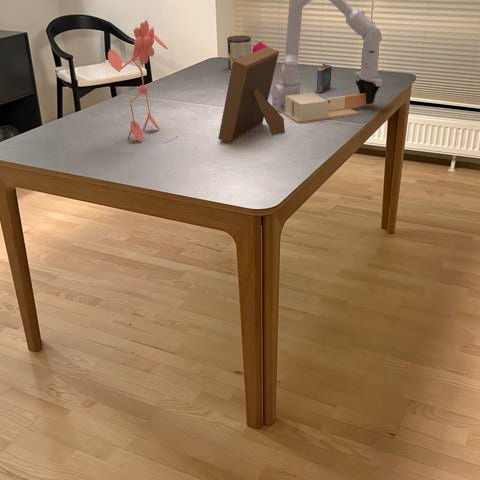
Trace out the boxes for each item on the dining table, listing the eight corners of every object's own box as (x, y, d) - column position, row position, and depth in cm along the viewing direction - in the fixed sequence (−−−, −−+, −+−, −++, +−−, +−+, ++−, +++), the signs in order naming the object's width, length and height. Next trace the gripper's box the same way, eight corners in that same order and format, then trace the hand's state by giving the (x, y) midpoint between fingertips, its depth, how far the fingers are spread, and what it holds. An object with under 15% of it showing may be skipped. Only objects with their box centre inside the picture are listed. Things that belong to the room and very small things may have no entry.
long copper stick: (324, 111, 211) (325, 99, 210) (322, 110, 212) (323, 98, 211) (374, 103, 218) (375, 92, 216) (372, 103, 219) (373, 91, 217)
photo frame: (218, 141, 189) (216, 58, 177) (251, 122, 206) (250, 45, 194) (261, 149, 183) (262, 63, 171) (291, 128, 199) (294, 49, 187)
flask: (320, 93, 235) (322, 65, 230) (314, 92, 236) (315, 64, 231) (331, 88, 242) (333, 60, 237) (325, 87, 243) (326, 59, 238)
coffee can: (223, 70, 272) (222, 37, 266) (241, 67, 278) (240, 34, 272) (238, 74, 265) (237, 40, 259) (256, 70, 271) (255, 37, 265)
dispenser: (297, 123, 204) (298, 104, 201) (282, 113, 213) (282, 95, 210) (358, 114, 211) (359, 96, 208) (341, 105, 220) (341, 88, 218)
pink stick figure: (110, 147, 187) (97, 27, 170) (153, 122, 208) (146, 13, 191) (154, 154, 182) (145, 30, 165) (194, 128, 203) (189, 16, 186)
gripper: (391, 66, 206) (388, 106, 212) (368, 57, 218) (365, 95, 224) (373, 68, 203) (370, 108, 210) (350, 59, 215) (348, 98, 222)
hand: (366, 102), depth 217 cm, fingers open, 3 cm apart
